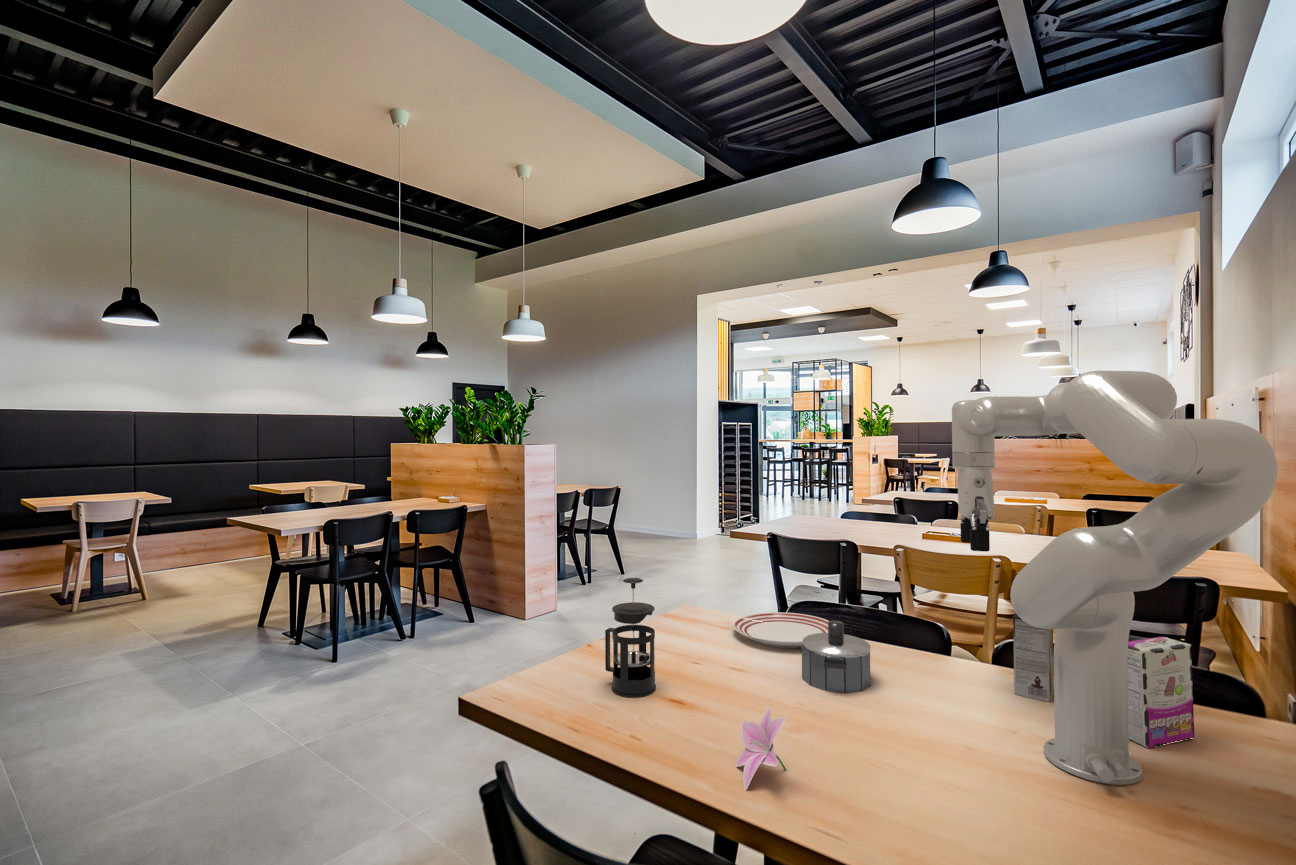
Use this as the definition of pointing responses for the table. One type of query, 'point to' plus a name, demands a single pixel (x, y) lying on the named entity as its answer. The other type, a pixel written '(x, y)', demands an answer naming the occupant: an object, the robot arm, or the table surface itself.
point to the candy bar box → (1159, 691)
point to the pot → (836, 672)
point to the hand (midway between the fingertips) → (974, 546)
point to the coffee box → (1033, 660)
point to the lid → (836, 643)
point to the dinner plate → (780, 628)
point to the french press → (631, 661)
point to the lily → (759, 744)
